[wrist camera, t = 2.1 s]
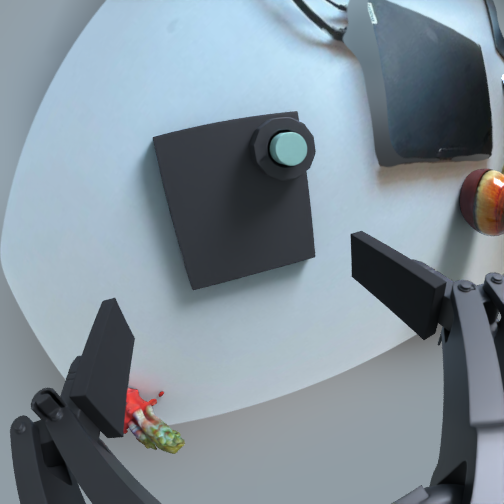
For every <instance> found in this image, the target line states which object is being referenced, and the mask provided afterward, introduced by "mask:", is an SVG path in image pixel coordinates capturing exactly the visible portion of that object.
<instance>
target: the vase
mask: <svg viewBox="0 0 504 504" xmlns="http://www.w3.org/2000/svg"><path fill="white" fill-rule="evenodd" d="M460 208H461V212H462V214H463V217H464V218H465V220H466V221H467V223H468V224H469V225H470V226H471V227H472V228H474V229H475V230H476V231H478V232H480V233H481V234H484V235H487V236H498V235H501V234H504V175H503V174H502V173H500V172H498V171H496V170H492V169H479V170H475V171H473V172H472V173H470V174H469V175H468V176H467V177H466V179H465V180H464V182H463V185H462V188H461V193H460Z"/></svg>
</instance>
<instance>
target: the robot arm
mask: <svg viewBox="0 0 504 504" xmlns="http://www.w3.org/2000/svg"><path fill="white" fill-rule="evenodd" d="M351 258H352V277H353V278H354V279H355V280H356V281H358V282H359V283H360V284H361V285H362V286H363V287H365V288H366V289H367V290H368V291H369V292H370V293H372V294H373V295H374V296H375V297H376V298H377V299H379V300H380V301H381V302H382V303H383V304H384V305H385V306H387V307H388V308H389V309H390V310H391V311H392V312H393V313H394V314H396V315H397V316H398V317H399V318H400V319H401V320H402V321H403V322H405V323H406V324H407V325H408V326H409V327H410V328H411V329H412V330H413V331H414V332H416V333H417V334H418V335H419V336H420V337H421V338H422V339H423V340H425V339H427V338H428V337H430V336H432V335H433V334H435V332H436V328H437V325H438V323H439V324H440V325H442V326H443V327H442V331H441V334H440V338H439V341H438V345H440V343H441V341H442V349H443V369H444V403H443V405H444V406H443V424H442V437H441V447H440V454H439V460H438V464H437V467H436V468H435V471H434V473H433V476H432V478H431V482H430V487H426V488H423V487H422V485H421V486H419V487H418V488H416V489H415V490H413V491H412V492H410V493H408V494H407V495H405V496H404V497H402V498H400V499H398V500H397V501H395V502H393V503H392V504H504V276H503V275H501V274H499V273H489V274H487V275H486V277H485V281H484V284H481V285H477V286H476V285H475V284H474V283H472V282H470V281H467V280H458V281H455V282H453V281H452V280H450V279H449V278H447V277H446V276H444V275H442V274H441V273H439V272H438V271H435V270H434V269H433V268H431V267H429V266H428V265H426V264H424V263H423V262H420V261H417V260H411V259H410V258H408V257H406V256H405V255H403V254H401V253H399V252H398V251H396V250H394V249H393V248H391V247H389V246H387V245H386V244H384V243H382V242H380V241H379V240H377V239H375V238H373V237H372V236H370V235H368V234H366V233H364V232H363V231H360V232H356V233H353V234H351ZM499 312H500V314H501V320H500V321H499V320H498V319H497V316H498V314H499ZM134 340H135V338H134V336H133V334H132V332H131V330H130V328H129V326H128V324H127V322H126V320H125V318H124V316H123V314H122V312H121V310H120V308H119V305H118V303H117V301H116V299H115V298H112V299H108V300H105V301H103V302H102V304H101V306H100V309H99V311H98V314H97V316H96V319H95V321H94V324H93V326H92V329H91V332H90V334H89V337H88V340H87V342H86V345H85V348H84V351H83V354H82V356H77V357H76V359H75V360H74V361H73V363H72V364H71V366H70V369H69V372H68V373H69V374H68V375H67V378H66V381H65V384H64V387H63V390H62V393H61V396H59V395H58V394H57V393H56V392H55V391H54V390H53V389H52V388H44V389H42V390H40V391H39V392H38V393H37V394H36V395H35V396H34V398H33V399H32V403H31V409H32V410H33V411H34V412H35V413H36V414H37V415H38V416H39V417H40V419H41V420H39V421H37V422H32V421H31V420H30V419H29V418H28V417H27V416H20V417H18V418H16V419H15V420H14V421H13V423H12V425H11V429H10V437H11V449H12V459H13V467H14V473H15V479H16V485H17V490H18V495H19V499H20V504H86V503H85V501H84V498H83V496H82V493H81V491H80V488H79V485H80V486H81V488H82V489H83V491H84V492H85V494H86V495H87V497H88V498H89V499H90V501H91V502H92V504H161V503H160V502H159V501H158V500H157V499H156V498H155V497H153V496H152V495H151V494H150V493H149V492H148V491H147V490H146V489H145V488H144V487H143V486H142V485H141V484H140V483H139V482H138V481H137V480H136V479H135V478H134V477H133V476H132V475H131V474H130V472H129V471H128V470H127V469H126V468H125V467H124V466H123V465H122V464H121V463H120V461H119V460H118V459H117V458H116V457H115V456H114V455H113V453H112V452H111V451H110V450H109V449H108V447H107V446H106V445H105V444H104V442H103V441H102V440H100V438H99V435H100V431H101V432H102V433H103V434H104V435H105V436H106V437H107V438H116V437H123V434H124V420H125V409H126V399H127V390H128V381H129V374H130V366H131V359H132V353H133V346H134ZM77 482H78V483H77ZM78 484H79V485H78Z"/></svg>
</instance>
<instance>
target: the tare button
mask: <svg viewBox="0 0 504 504" xmlns="http://www.w3.org/2000/svg"><path fill="white" fill-rule="evenodd" d="M269 149H270V154H271V156H272V158H273V159H274V160H275V161H276V162H278V163H280V164H284V165H289V166H294V165H297V164H299V163H301V162H302V161H303V160H304V158H305V157H306V154H307V144H306V142H305V140H304V139H303V137H302V136H300V135H299V134H297V133H294V132H287V133H280V134H278V135H276V136H275V137H274V138H273V139H272V140H271V143H270V147H269Z"/></svg>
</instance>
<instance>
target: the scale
mask: <svg viewBox="0 0 504 504" xmlns="http://www.w3.org/2000/svg"><path fill="white" fill-rule="evenodd" d="M287 132H294V133H297V134H299V135H300V136H302V137H303V139H304V140H305V142H306V144H307V154H306V157H305V158H304V160H303V161H302V162H301V163H299V164H297V165H294V166H289V165H284V164H280V163H278V162H276V161H275V160H274V159H273V158H272V156H271V154H270V149H269V147H270V143H271V140H272V139H273V138H274V137H275V136H276V135H278V134H280V133H287ZM153 141H154V146H155V150H156V155H157V159H158V164H159V168H160V173H161V177H162V181H163V185H164V189H165V194H166V198H167V202H168V205H169V209H170V213H171V217H172V221H173V225H174V228H175V232H176V236H177V239H178V243H179V246H180V250H181V253H182V257H183V260H184V263H185V267H186V270H187V273H188V277H189V280H190V283H191V286H192V289H193V290H196V289H200V288H204V287H208V286H212V285H215V284H219V283H223V282H227V281H230V280H234V279H238V278H242V277H245V276H249V275H253V274H256V273H260V272H264V271H267V270H271V269H274V268H278V267H282V266H285V265H289V264H292V263H296V262H299V261H303V260H306V259H310V258H313V257H315V249H314V237H313V226H312V216H311V207H310V198H309V189H308V181H307V173H306V171H307V170H308V169H309V168H310V167H311V164H312V161H313V158H314V156H315V152H316V151H315V144H314V137H313V135H312V134H311V133H310V131H309V130H308V129H307V127H306V126H305V124H303V123H302V122H299V118H298V112H297V111H295V112H285V113H275V114H267V115H260V116H253V117H246V118H239V119H233V120H228V121H222V122H217V123H212V124H207V125H202V126H197V127H192V128H188V129H184V130H179V131H175V132H171V133H167V134H163V135H160V136H156V137H153Z"/></svg>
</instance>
